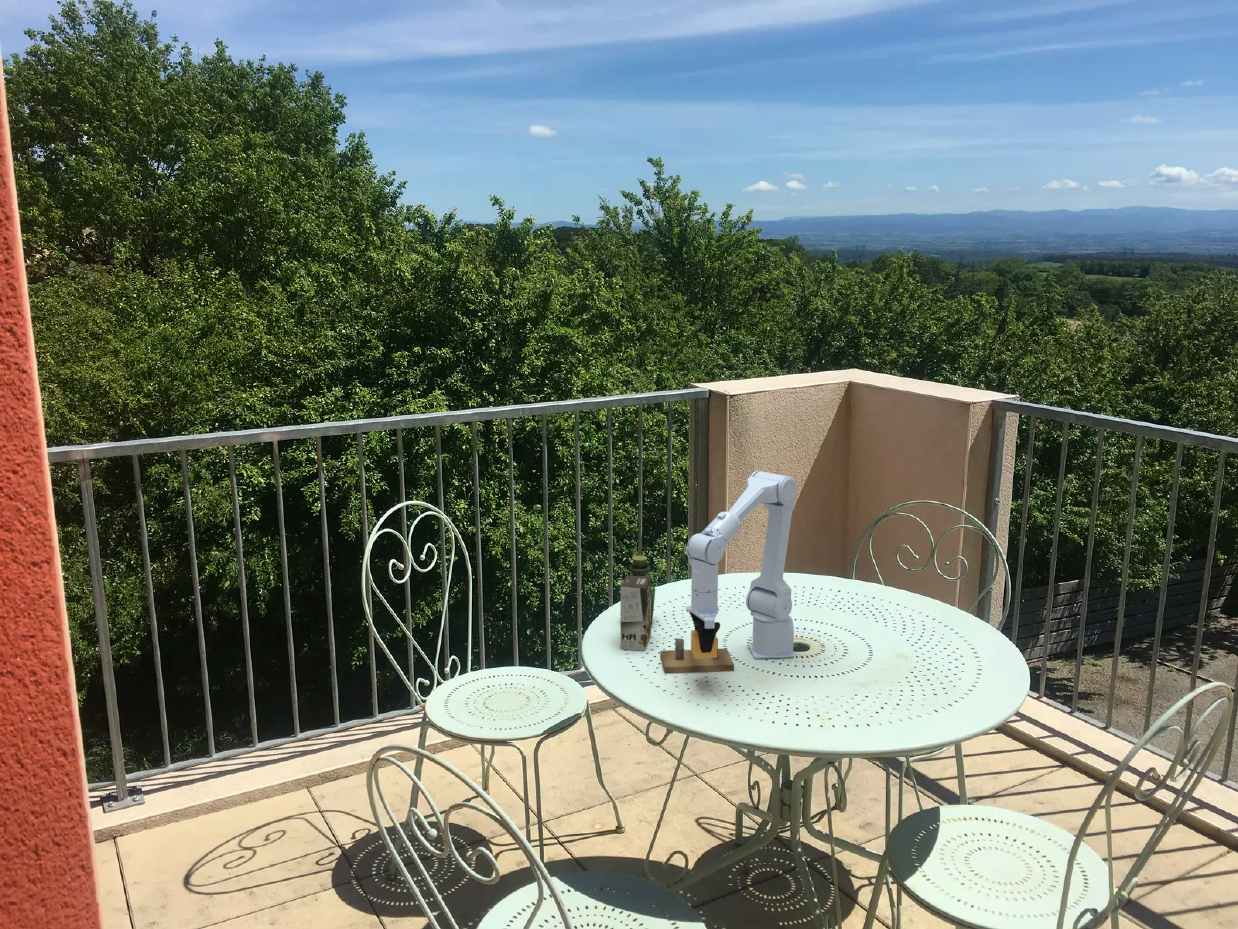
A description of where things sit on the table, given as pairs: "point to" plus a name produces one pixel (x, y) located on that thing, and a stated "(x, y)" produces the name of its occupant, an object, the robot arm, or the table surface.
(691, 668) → the wooden peg board
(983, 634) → the table surface
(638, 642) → the coffee box
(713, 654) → the wooden toy cube
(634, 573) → the potion bottle
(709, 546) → the robot arm
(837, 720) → the table surface
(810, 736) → the table surface
